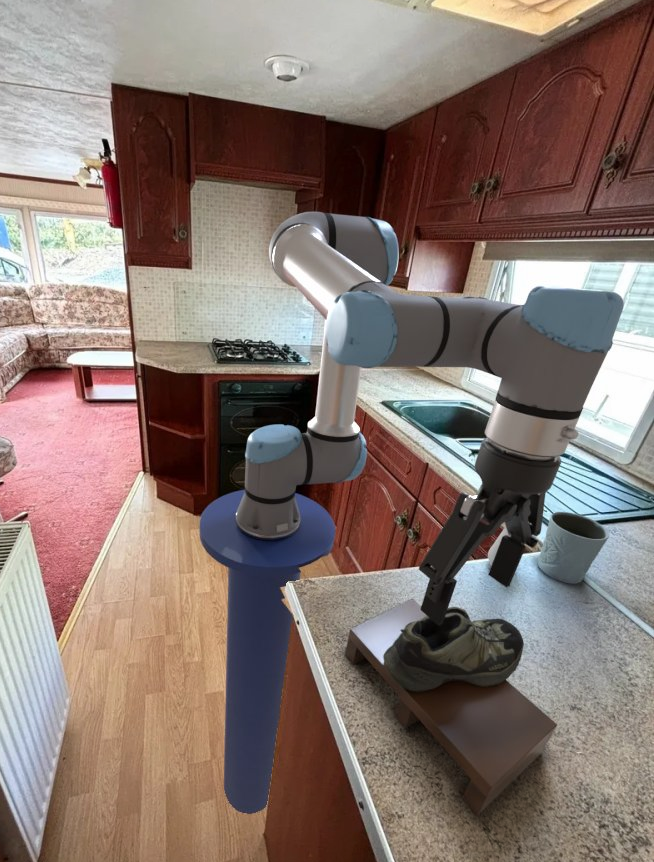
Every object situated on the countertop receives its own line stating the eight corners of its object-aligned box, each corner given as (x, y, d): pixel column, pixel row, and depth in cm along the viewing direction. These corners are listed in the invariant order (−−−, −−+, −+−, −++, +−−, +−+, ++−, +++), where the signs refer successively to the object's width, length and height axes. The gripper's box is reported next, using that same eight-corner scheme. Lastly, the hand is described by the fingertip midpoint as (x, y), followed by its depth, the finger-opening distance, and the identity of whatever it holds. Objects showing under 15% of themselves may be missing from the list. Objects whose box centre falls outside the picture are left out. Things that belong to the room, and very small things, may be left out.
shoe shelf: (344, 655, 65) (349, 628, 63) (405, 623, 72) (412, 598, 69) (476, 816, 47) (491, 787, 44) (541, 753, 53) (557, 724, 51)
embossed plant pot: (596, 579, 86) (619, 533, 82) (568, 592, 82) (591, 544, 77) (550, 551, 95) (569, 507, 90) (522, 561, 90) (540, 516, 85)
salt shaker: (480, 565, 88) (498, 515, 83) (490, 554, 92) (507, 505, 87) (509, 579, 85) (529, 528, 79) (517, 567, 88) (537, 517, 83)
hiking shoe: (536, 675, 57) (559, 626, 53) (407, 713, 51) (423, 661, 47) (491, 628, 65) (509, 582, 61) (374, 656, 58) (385, 607, 54)
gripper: (481, 486, 33) (423, 661, 42) (616, 441, 46) (549, 584, 55) (412, 450, 39) (374, 611, 48) (548, 419, 51) (497, 552, 60)
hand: (467, 597), depth 51 cm, fingers open, 13 cm apart
